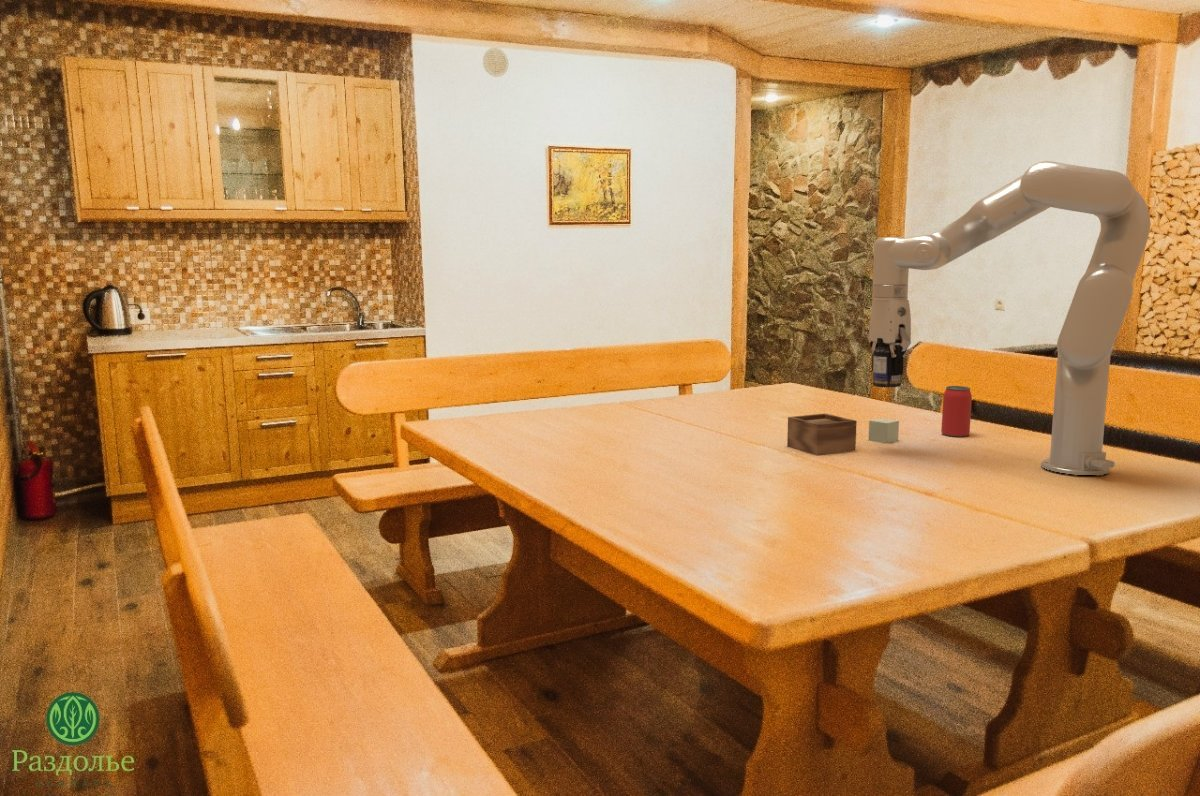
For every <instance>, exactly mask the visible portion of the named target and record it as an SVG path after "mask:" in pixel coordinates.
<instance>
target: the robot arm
mask: <svg viewBox="0 0 1200 796" xmlns="http://www.w3.org/2000/svg"><path fill="white" fill-rule="evenodd" d="M1050 208H1054V209H1059V210H1065V211H1071V212H1077V213H1084V214H1090V215H1094V216H1096V217H1097V218H1098V219H1099V223H1100V230H1099V235H1098V238H1097V240H1096V242H1095V246H1094V249H1093V251H1092V252H1093V253H1092V254H1091V257H1090V260H1089V262H1088V263H1089V264H1088V266H1087V268H1086V270H1085V273H1084V274H1083V275H1082V277H1080V280H1079V281H1078V283H1077V286H1076V288H1075V289H1076V290H1075V292H1074V295H1073V297H1072V299H1071V303H1070V306H1069V308H1068V311H1067V314H1066V317H1065V319H1064V322H1063V325H1062V327H1061V330H1060V332H1059V334H1058V337H1057V341H1056V348H1057V349H1056V350H1057V361H1056V374H1055V389H1054V396H1053V397H1054V399H1053V410H1052V411H1053V412H1052V422H1051V423H1052V426H1051V427H1052V428H1051V439H1050V450H1049V451H1050V452H1049V457H1048V458H1044V459H1042V460H1041V462H1040V463H1041V464H1040V466H1042V467H1041V468H1042V469H1044V468H1045V469H1044V470H1046V469H1047V470H1046V471H1049V470H1051V471H1050V472H1052V471H1055V472H1054V473H1056V472H1060V473H1059V474H1061V473H1067V474H1066V475H1068V474H1077V475H1101V476H1104V475H1103V474H1106V475H1108V474H1109V473H1110V469H1112V468H1114V467H1115V461H1114V460H1109V459H1106V458H1107V452H1106V451H1103V446H1104V437H1105V436H1104V435H1105V433H1104V432H1105V423H1106V408H1107V398H1108V389H1109V378H1110V367H1111V354H1112V349H1113V347H1114V344H1115V342H1116V340H1117V337H1118V335H1119V332H1120V330H1121V327H1122V325H1123V322H1124V319H1125V316H1126V314H1127V311H1128V309H1129V306H1130V303H1131V300H1132V297H1133V295H1134V294H1133V293H1134V285H1133V284H1134V280H1135V277H1136V274H1137V271H1138V269H1139V266H1140V263H1141V261H1142V258H1143V255H1144V252H1145V248H1146V245H1147V242H1148V239H1149V236H1150V230H1151V216H1150V211H1149V207H1148V205H1147V202H1146V201H1145V199H1144V197H1143V196H1142V195H1141V193H1140V192H1139V191H1138V190H1137V189H1136V188H1135V187H1134V184H1133V183H1132V181H1131V179H1130V178H1129V177H1128V176H1127V175H1125V174H1124V173H1122V172H1119V171H1118V170H1117V171H1116V170H1110V169H1103V168H1097V167H1089V166H1084V165H1083V166H1082V165H1076V164H1067V163H1063V162H1062V163H1061V162H1056V161H1051V160H1050V161H1047V160H1045V161H1039V162H1037V163H1034V164H1033V165H1031V166H1029V167H1028V169H1027V170H1026V171H1025V172H1024V173H1023V175H1020V176H1019V177H1017V178H1016V179H1014V180H1012V181H1010V182H1009V183H1007V184H1005V185H1004V186H1002V187H1001V188H998V189H996V190H995V191H993V192H991V193H989V194H987V195H986V196H984V197H981V199H979V200H978V201H976V202H975V203H974V204H972V206H971V207H970V208H969V210H967V212H965V213H964V214H963V215H962V216H960V217H959V218H957V219H956V220H954V221H952V222H950V224H947V225H946V226H944V227H942V228H941V229H939V230H937V231H935V232H933V233H931V234H922V235H917V236H911V237H905V236H884V237H883V236H882V237H879V238H877V239H876V240H875V242H874V245H873V264H872V265H873V267H872V268H873V269H872V270H873V271H872V292H871V293H872V294H871V295H872V297H871V300H872V301H871V302H872V303H871V308H870V317H869V330H868V331H869V333H868V334H867V336H866V338H867V340H868V342H869V346H870V353H871V357H872V358H871V372H873V356H874V350H875V348H877V347H878V343H877V338H882V339H883V342H884V343H886V344H889V345H890V351H891V356H892V357H890V358H889V375H901V376H902V375H903V374H904V358H905V357H906V352H907V351H908V348H909V347H910V345H911V343H912V341H911V340H912V322H911V319H912V318H911V315H912V314H911V309H910V307H911V306H910V301H909V299H908V294H909V269H910V270H911V269H913V270H920V271H931V270H937V269H940V268H942V267H944V266H945V265H948V264H949V263H951V262H953V261H955V260H957V259H958V258H960V257H963V256H964V255H966V254H967V253H969V252H971V251H973V250H975V249H976V248H978V247H979V246H981V245H983V244H985V243H988V242H990V241H992V240H994V239H995V238H997V237H999V236H1001V235H1003V234H1005V233H1006V232H1008V231H1010V230H1012V229H1013V228H1016V226H1019V225H1020V224H1022V223H1024V222H1026V221H1028V220H1029V219H1032V218H1033V217H1035V216H1037V215H1039V214H1040V213H1043V212H1044V211H1047V210H1048V209H1050ZM896 341H898V343H895V342H896ZM895 347H898V348H897V349H895ZM1107 473H1108V474H1107ZM1077 475H1076V476H1077Z"/></svg>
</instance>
